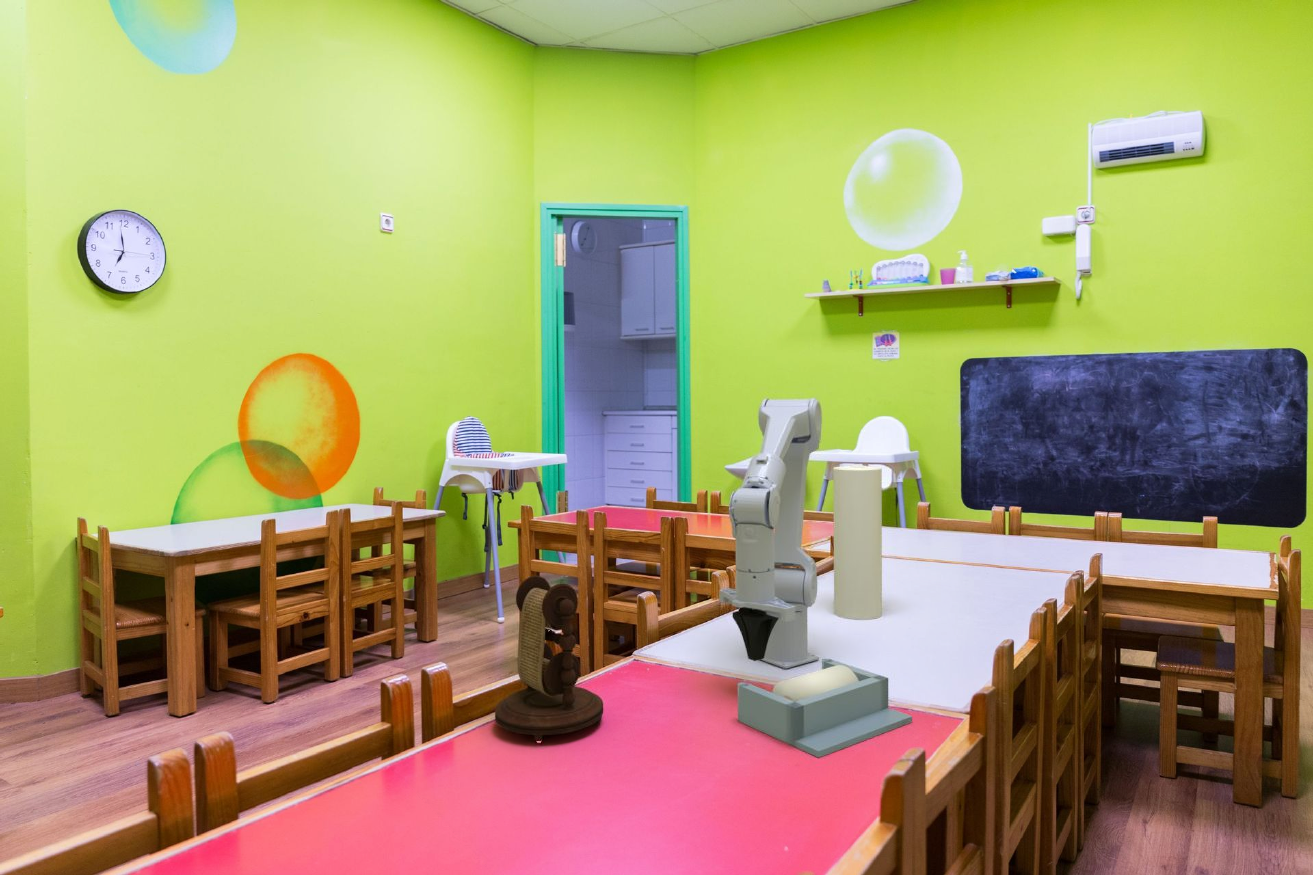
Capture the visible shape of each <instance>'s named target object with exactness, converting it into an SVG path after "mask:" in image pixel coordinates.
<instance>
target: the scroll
mask: <svg viewBox="0 0 1313 875" xmlns="http://www.w3.org/2000/svg"><path fill="white" fill-rule="evenodd" d="M515 602H516V606H517V608H518V610H519V612H520V613H521V614H520V619H519V620H520V621H519V627H518V629H519V630H518V640H517V641H518V642H517V645H518V646H517V647H518V648H517V674H518V677H519V680H520V681H521V682H522V683H523V684H525V685H526V687H525V688H523V689H520V690H518V691H515V692H512V693H511V694H509V695H508V696H507V697H505V698H503V699H502V700H501V701H499V702H498V703H497V704H496V705H495V707H494V720H495V722H496V723H497V725H498V726H499V727H501V728H502V729H504V730H506V731H510V732H512V733H516V734H521V735H529V736H530V735H531V736H533V737H534V741H535V740H536V741H541V740H542V741H543V738H544V736H547V735H548V736H551V735H561V734H565V733H571V732H576V731H579V730H582V729H585V728H588V727H589V726H591V725H593V724H595V725H596V724H597V725H596V726H599V725H600V724H601V722H602V718H603V714H604V702H603V699H602V698H601V697H600V696H599V695H598V694H596V693H594V692H592V691H590V690H589V689H586V688H584V687H580V686H576V684H577V682H578V681H579V676H580V673H581V664H580V661H579V659H578V656H576V655H575V654H574V653H573V652H574V649H575V647H576V644H577V641H576V636H574V635H573V630H574V628H573V623H572V621H571V620H572V619H573V618H574V617H575V615H576V612H577V610H578V606H579V598H578V594H577V591H576V590H575V588H574V587H573V586H571V585H570V584H567V583H556V584H555V585H553V586H551V585H550V583H549V582H548V580H547V579H546V578H544V577H543V576H540V575H532V576H529V577H527V578H525V579H524V580H523V581H521V583H520V585H519V586H518V588H517V591H516V595H515ZM548 630H550V631H549V632H548ZM555 631H561V633H557V632H555ZM547 642H550V643H551V642H552V643H555V644H556V645H558V646H559V647H560V649H561V652H558V653H557V654H554V652H553V649H552V647H550V645H549V644H548V643H547ZM536 741H535V742H536Z"/></svg>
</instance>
